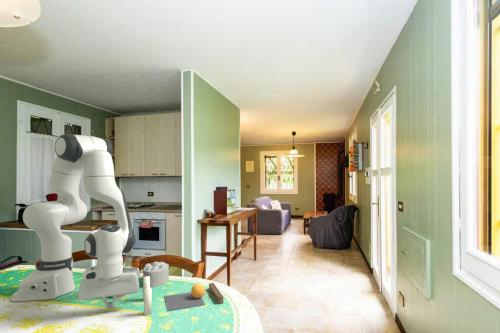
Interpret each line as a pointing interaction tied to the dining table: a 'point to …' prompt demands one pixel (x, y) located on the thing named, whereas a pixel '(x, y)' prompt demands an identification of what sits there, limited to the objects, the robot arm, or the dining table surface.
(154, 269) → the lumpy-topped squat cylinder
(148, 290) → the post
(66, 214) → the robot arm
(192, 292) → the ball
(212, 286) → the wall
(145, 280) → the post
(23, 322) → the dining table surface
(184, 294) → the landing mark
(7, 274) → the dining table surface
